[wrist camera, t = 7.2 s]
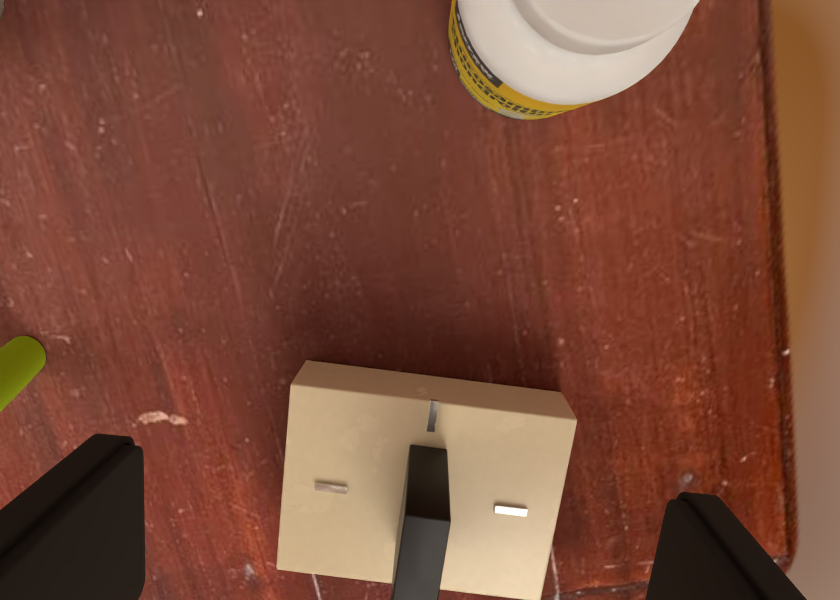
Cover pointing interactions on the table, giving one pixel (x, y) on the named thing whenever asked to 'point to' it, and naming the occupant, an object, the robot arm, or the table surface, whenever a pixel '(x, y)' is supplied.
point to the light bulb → (1, 7)
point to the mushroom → (18, 366)
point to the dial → (422, 526)
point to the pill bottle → (558, 50)
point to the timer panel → (386, 468)
